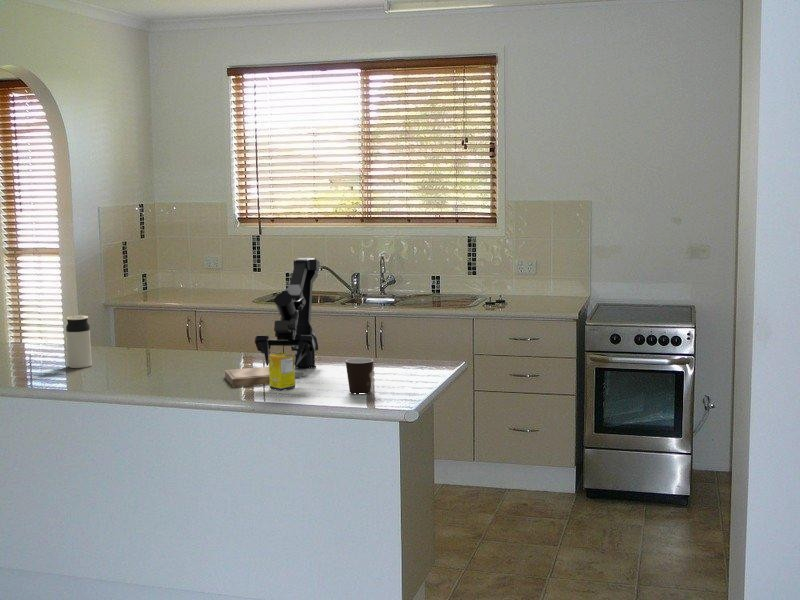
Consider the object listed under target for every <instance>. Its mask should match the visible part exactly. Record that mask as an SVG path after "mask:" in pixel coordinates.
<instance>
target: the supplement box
mask: <svg viewBox="0 0 800 600" xmlns="http://www.w3.org/2000/svg"><path fill="white" fill-rule="evenodd" d="M294 354H295V353H288V352H279V353H273V354H270V355H269V364H268V367H269V378H270V384H269V389H270V388H271V389H270V390H274V389H276V390H275V391H279V390H280V391H279V392H281V391H282V392H283V391H286V390H291V389H295V388H296V379H295V372H296V371H295V366H294Z"/></svg>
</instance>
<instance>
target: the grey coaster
mask: <svg viewBox="0 0 800 600" xmlns="http://www.w3.org/2000/svg"><path fill="white" fill-rule="evenodd" d="M303 376H304V377H305V373H304V372H301V371H295V378H297V379H301V378H300V377H302V378H304V377H303Z"/></svg>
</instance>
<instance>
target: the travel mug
mask: <svg viewBox="0 0 800 600" xmlns="http://www.w3.org/2000/svg"><path fill="white" fill-rule="evenodd" d="M65 319H66V321H67V324H66V327H65V328H66V329H65V330H66V346H67V347H66V348H67V361H68V367H69V368H70V369H85V368H89V367H91V366H92V364H93V362H92V346H91V332H90V330H91V329H90V324H89V322H88V319H89V316H88V315H72V316H67V317H66V318H65Z"/></svg>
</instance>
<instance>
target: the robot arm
mask: <svg viewBox="0 0 800 600" xmlns="http://www.w3.org/2000/svg"><path fill="white" fill-rule="evenodd" d="M320 267H321V263H320V261H319V260H318V259H317V257H298V258H296V259H293V268H292V269H293V270H292V274H291V278H290V280H289V281H290V282H289V285H288V287H287V288H285V289H284V290H281V293H279V294H277V295H276V296H275V297H274V299H273V300H274V304H275V307H276V310H277V314H278V315H279V316H280V320H274V323H273V324H274V327H273V331H274V335H275V337H276V338H269V335H268V334H257V335H256V336H255V338H254V343H255V346H256V349H257V351H258V352H260V353H261V354H264V358H265V359H264V360H265V364H266V367H269V355H271V346H273V347H275V346H278V347H279V346H281V347H291V352H294V353H293V354H294V368H296V369H297V370H303V369H304V370H305V369H316V368H317V365H316V361H315V360H316V355H315V352H316V351H319V342H318V338H317V335H316V332H315V329H314V327H313V325H312V322H311V320H312V319H311V318H312V304H313V302H312V301H313V287H314V286H313V285H314V282H315V281H316V279H317V278H318V275H319V271H320Z"/></svg>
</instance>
